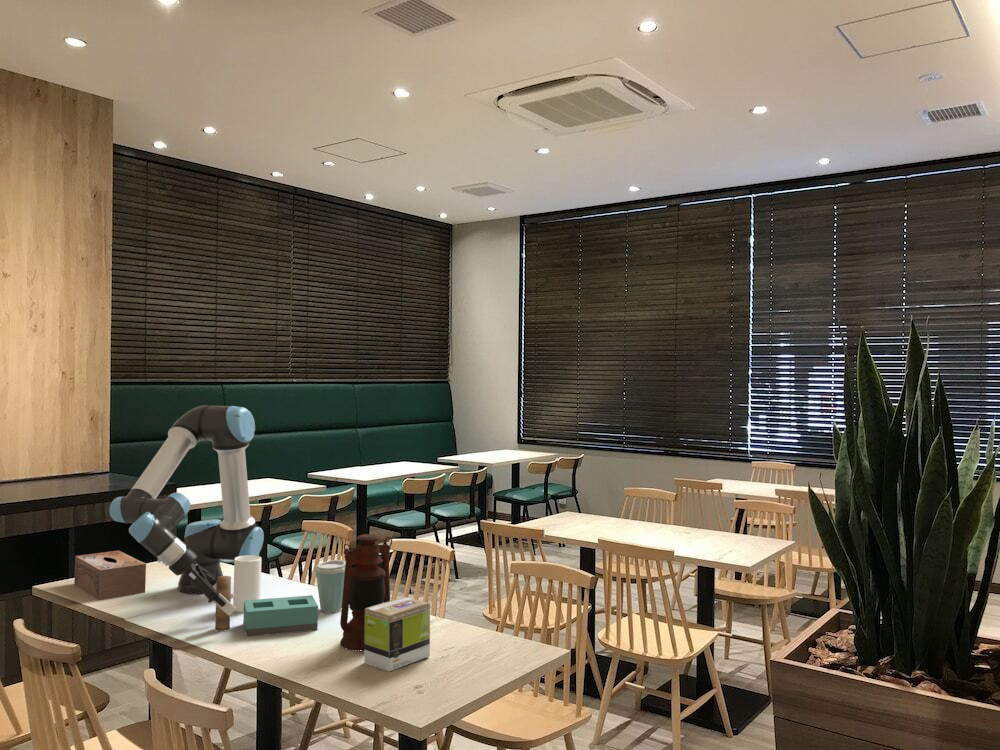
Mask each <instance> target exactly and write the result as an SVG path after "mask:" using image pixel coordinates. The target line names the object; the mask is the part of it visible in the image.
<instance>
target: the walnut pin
mask: <svg viewBox="0 0 1000 750" xmlns="http://www.w3.org/2000/svg"><path fill="white" fill-rule="evenodd" d="M231 589H232V576H230V575H223V576H219V577H217V584H216V591H217V592H218V593H220V594H221V595H222V596H223V597H225V598H226V599H227V600H228V601H229V602H230V603H231V600H232V598H231V593H232V592H231V591H232V590H231ZM214 619H215V621H214V624H215V625H214V627H215V628H214V630H215V631H216V630H217V632H224V631H225V630H226V631H228V630H230V629H231V627H230V626H231V614H230V615H227V614H226V613H225V612H224V611H223V610H222V609H221V608H220V607H218V606H217V605H216V604H215V618H214ZM226 631H225V632H226Z"/></svg>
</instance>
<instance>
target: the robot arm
mask: <svg viewBox="0 0 1000 750" xmlns="http://www.w3.org/2000/svg"><path fill="white" fill-rule="evenodd" d="M255 422H256V421H255V419H254V415H253V414H252V413H251V411H250V410H248V409H247V408H246V407H243V406H235V405H209V404H207V405H206V404H205V405H199V406H196V407H193V408H192V409H190V410H188V411H186V413H184V414H183V415H182V416H180V417H179V418H178V419H177V420H176V421H175V422H174V423H173V425H172V426H171V427H170V428H169V429H168V432H167V436H168V437H167V438H166V440H165V441H164V442H163V444H162V445H161V447H160V448H159V450H158V451H157V452H156V454H155V455H154V457H153V458H152V459H151V461H150V462H149V464H148V465H147V466H146V467H145V469H144V471H143V472H142V473H141V475H140V476H139V478H138V479H137V481H136V482H135V483H134V485H133V486H132V488H131V489H130V491H129V492H128V494H127V495H126V496H118V497H115V498H114V499H113V500H112V502H111V503H110V506H109V515H110V518H111V519H112V520H113V521H114V522H116V523H117V522H119V523H122V524H123V523H124V524H131V525H130V526H129V528H128V533H129V534H130V535H131V536H132V537H133V538H134V539H135V540H136V542H137V543H139V544H140V545H141V546H142V547H144V548H145V549H146V550H147V551H149V552H150V553H151V554H152V555H153V556H154V557H156V558H157V560H156V561H157V562H158V563H161V562H162V564H163V565H164V566H165V567H167V566H168V570H170V571H171V572H172V573H173V574H175V575H176V576H180V577H179V579H178V583H177V590H178V591H179V592H180V593H183V594H184V593H186V594H203V595H204V596H205V597H206V598H207V599H208V601H207V602H208V603H209V604H211V603H212V602H213V603H214V604H215V606H216V605H217V606H218V607H220V608H221V609H222V610H223V611H224V612H225V613H226V614H227V615H230V616H231V614H233V613H234V612H235V611H234V610H235V609H236V607H235V606H234V605H233V603H232V602H231V601H230V602H229V601H228V600H227V599H226V598H225V597H223V596H222V595H221V594H220V593H218V592H217V591H216V584H217V577H219V576H224V573H223V571H222V567H221V560H222V561H223V560H225V561H234V560H235V558H236V557H239V556H247V555H254V556H259V555H260V553H261V550H262V548H263V544H264V539H265V538H264V537H265V535H264V530H263V529H262V528H261V527H260V526H257V524H256V519H255V517H253V516H252V515H251V508H250V507H251V506H250V494H249V483H248V482H249V481H248V471H247V459H246V449H247V448H248V447H249V445H250V442H251V441H252V440H253V439H254V436H255V432H256V424H255ZM201 441H209V442H210V441H211V445H212V449H213V450H214V451H216V452H217V455H218V466H219V467H218V468H219V478H220V488H221V489H220V490H221V491H220V492H221V501H222V511H223V514H222V515H223V519H222V520H221V519H217V518H215V519H206V520H199V521H194V522H191V523H189V524H187V525H186V527H185V532H184V542H183V541H182V540H181V539H180V538H179V537H177V536H176V535H175V534H174V533H173V531H174V530H175V529H176V528H177V526H178V525H179V524H180V523H181V522H182V520H184V519H185V518H186V515H188V513H189V512H190V510H191V506H192V505H191V502H190V499H189V498H188V497H187V496H186V495H184V494H183V493H180V492H172V493H171V494H169V495H168V496H166V498H164V499H163V498H158V496H159V495H160V493H161V492H162V490H163V489H164V487H165V486H166V484H167V482H169V480H170V479H171V477H172V476H173V474H174V472H175V471H176V469H177V468H178V466H179V465H180V463H181V462H182V460H183V459H184V457H185V456H186V455H187V453H188V451H189V450H191V449H193V448H195V447H196V445H197V444H198V443H199V442H201ZM233 596H234V595H233V593H232V592H231V599H233Z"/></svg>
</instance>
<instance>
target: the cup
mask: <svg viewBox="0 0 1000 750" xmlns="http://www.w3.org/2000/svg"><path fill="white" fill-rule="evenodd" d="M233 564H234V568H233V569H234V570H233V593H232V594H233V595H234V596H233V597H232V600H233V601H232V605H234V606H235V607H236V609H235V610H234V611H233V612H236V611H238V612H237V613H244V600H257V599H261V593H262V592H261V589H262V587H261V585H262V557H261V556H259V555H258V556H254V555H247V556H239V557H236V558H235V560H233Z"/></svg>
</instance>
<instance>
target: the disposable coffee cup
mask: <svg viewBox="0 0 1000 750" xmlns="http://www.w3.org/2000/svg"><path fill="white" fill-rule="evenodd" d="M345 564H346V561H345V560H340V559H333V560H327V561H322V562H320V563H318V564H317V565H316V566H315V568H314V569H315V570H314V572H315V577H316V585H317V590H318V592H317V593H318V599H319V606H320V609H321V612H323V611H324V612H323V613H337V612H340V611H341V609H342V598H343V587H344V576H345Z"/></svg>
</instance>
